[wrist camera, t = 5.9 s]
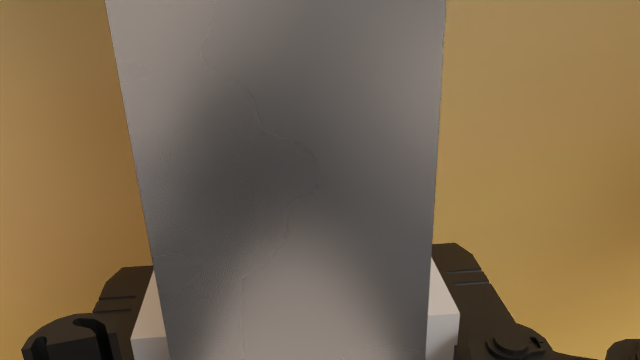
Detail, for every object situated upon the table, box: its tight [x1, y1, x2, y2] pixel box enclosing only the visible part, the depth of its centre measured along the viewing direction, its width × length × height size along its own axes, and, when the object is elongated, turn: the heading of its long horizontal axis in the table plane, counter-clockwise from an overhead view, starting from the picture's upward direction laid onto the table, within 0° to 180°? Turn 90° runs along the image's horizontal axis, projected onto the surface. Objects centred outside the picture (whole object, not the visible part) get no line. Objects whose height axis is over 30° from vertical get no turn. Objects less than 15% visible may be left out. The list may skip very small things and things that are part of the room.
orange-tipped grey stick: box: [105, 0, 446, 360], centre depth 9 cm, size 4×25×4 cm, turn 2°
